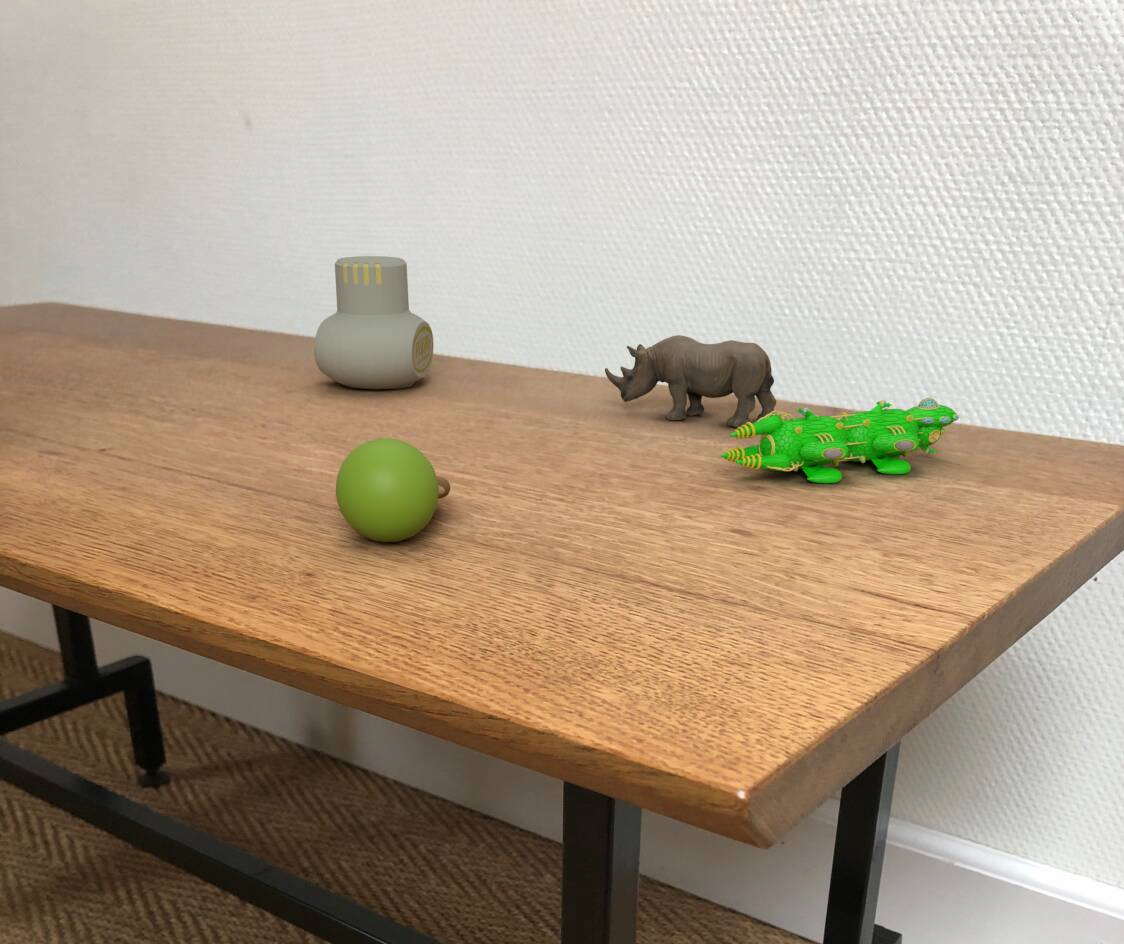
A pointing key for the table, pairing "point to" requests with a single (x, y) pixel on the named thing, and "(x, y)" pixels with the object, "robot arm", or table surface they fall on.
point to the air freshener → (373, 328)
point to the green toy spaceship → (842, 439)
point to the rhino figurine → (701, 375)
